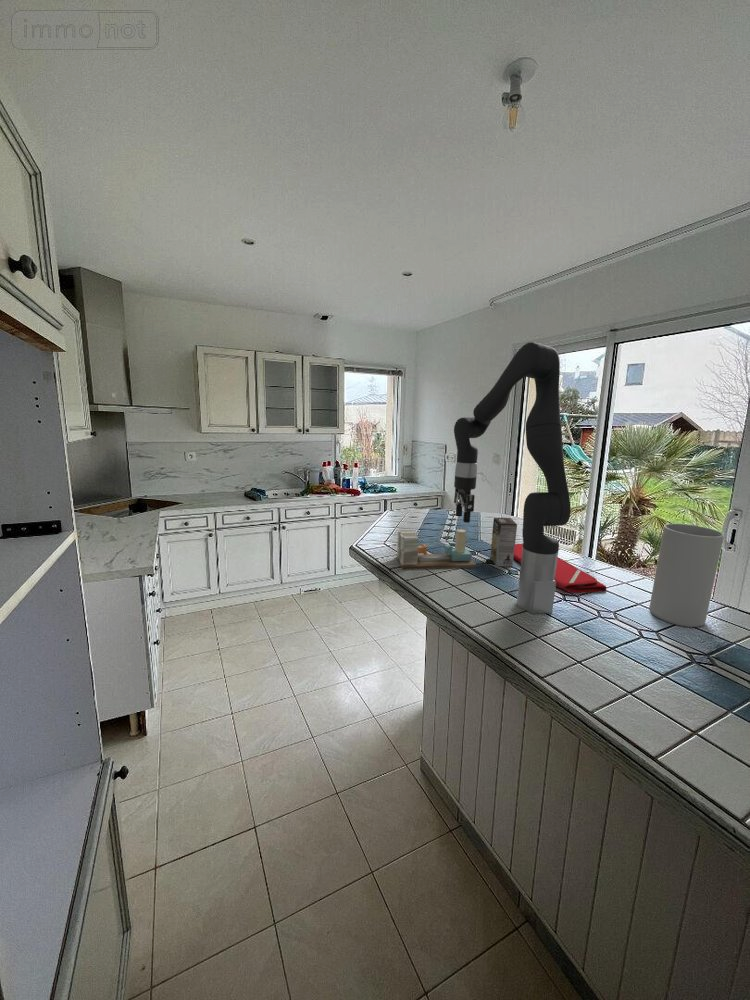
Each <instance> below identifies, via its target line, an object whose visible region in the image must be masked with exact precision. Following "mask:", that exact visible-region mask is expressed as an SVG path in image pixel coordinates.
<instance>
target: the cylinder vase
mask: <svg viewBox="0 0 750 1000" xmlns="http://www.w3.org/2000/svg"><path fill="white" fill-rule="evenodd" d="M724 538H725V534H724V533H723V532H721V531H719V530H716V529H713V528H709V527H705V526H699V525H694V524H686V523H685V524H684V523H666V524H664V525H663V530H662V536H661V541H660V546H659V552H658V557H657V558H658V559H657V563H656V570H655V574H654V579H653V585H652V590H651V596H650V601H649V602H650V603H649V611H650V613H651V614H652V615H654V616H655V617H656V618H658V619H659V620H661V621H664V622H666V623H670V624H673V625H676V626H680V627H685V628H686V627H687V628H699V627H702V626H704V625H705V624H706V622H707V621H706V620H707V616H708V611H709V606H710V602H711V597H712V593H713V588H714V583H715V580H716V574H717V570H718V564H719V560H720V555H721V551H722V547H723V542H724Z"/></svg>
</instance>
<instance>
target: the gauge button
mask: <svg viewBox="0 0 750 1000" xmlns="http://www.w3.org/2000/svg"><path fill="white" fill-rule="evenodd" d="M418 554H424V555H427V554H428V546H427V545H426V544H425V543H423V544H422V545H418Z"/></svg>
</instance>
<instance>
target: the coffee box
mask: <svg viewBox="0 0 750 1000" xmlns="http://www.w3.org/2000/svg"><path fill="white" fill-rule="evenodd" d="M517 529H518V524H517V523H516V522H515V521H514V520H513V519H512V518H511V517H493V524H492V535H491V536H492V537H491V544H490V545H491V548H490V559H491V560H492V562H493V563H494V565H495V566H497V567H513V566H514V549H515V544H516V538H517Z"/></svg>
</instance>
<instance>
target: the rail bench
mask: <svg viewBox="0 0 750 1000" xmlns="http://www.w3.org/2000/svg"><path fill="white" fill-rule="evenodd" d="M418 546H419V536H418V535H417V534H416V533H415V531H414V530H397V552H396V559H397V561H398V563H399V565H400V567H401V569H402V570H425V569H426V570H428V569H429V570H430V569H438V570H439V569H471V568H473V569H474V568H478V567H477V566H478V565H477V563H476V562H475V561H474V560H473V559H471V561H452V560H451V559H452V557H451V556H450V555H448V554H446V553H432V554H431V553H427V555H424V554H418Z"/></svg>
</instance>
